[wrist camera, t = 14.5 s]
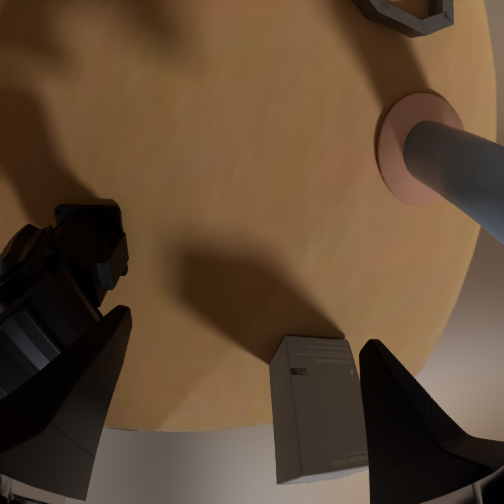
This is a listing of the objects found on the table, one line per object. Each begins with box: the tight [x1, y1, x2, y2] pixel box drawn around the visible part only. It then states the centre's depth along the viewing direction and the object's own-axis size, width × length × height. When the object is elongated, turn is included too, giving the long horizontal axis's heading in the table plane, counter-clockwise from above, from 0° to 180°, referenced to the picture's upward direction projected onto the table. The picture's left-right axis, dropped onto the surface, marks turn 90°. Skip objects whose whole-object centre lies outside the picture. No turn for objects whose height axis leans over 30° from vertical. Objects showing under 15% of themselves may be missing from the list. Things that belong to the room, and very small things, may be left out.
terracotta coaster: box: [377, 92, 464, 207], centre depth 18 cm, size 10×10×1 cm
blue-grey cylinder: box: [404, 120, 504, 245], centre depth 13 cm, size 5×5×12 cm
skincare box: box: [269, 336, 369, 485], centre depth 24 cm, size 8×7×16 cm
